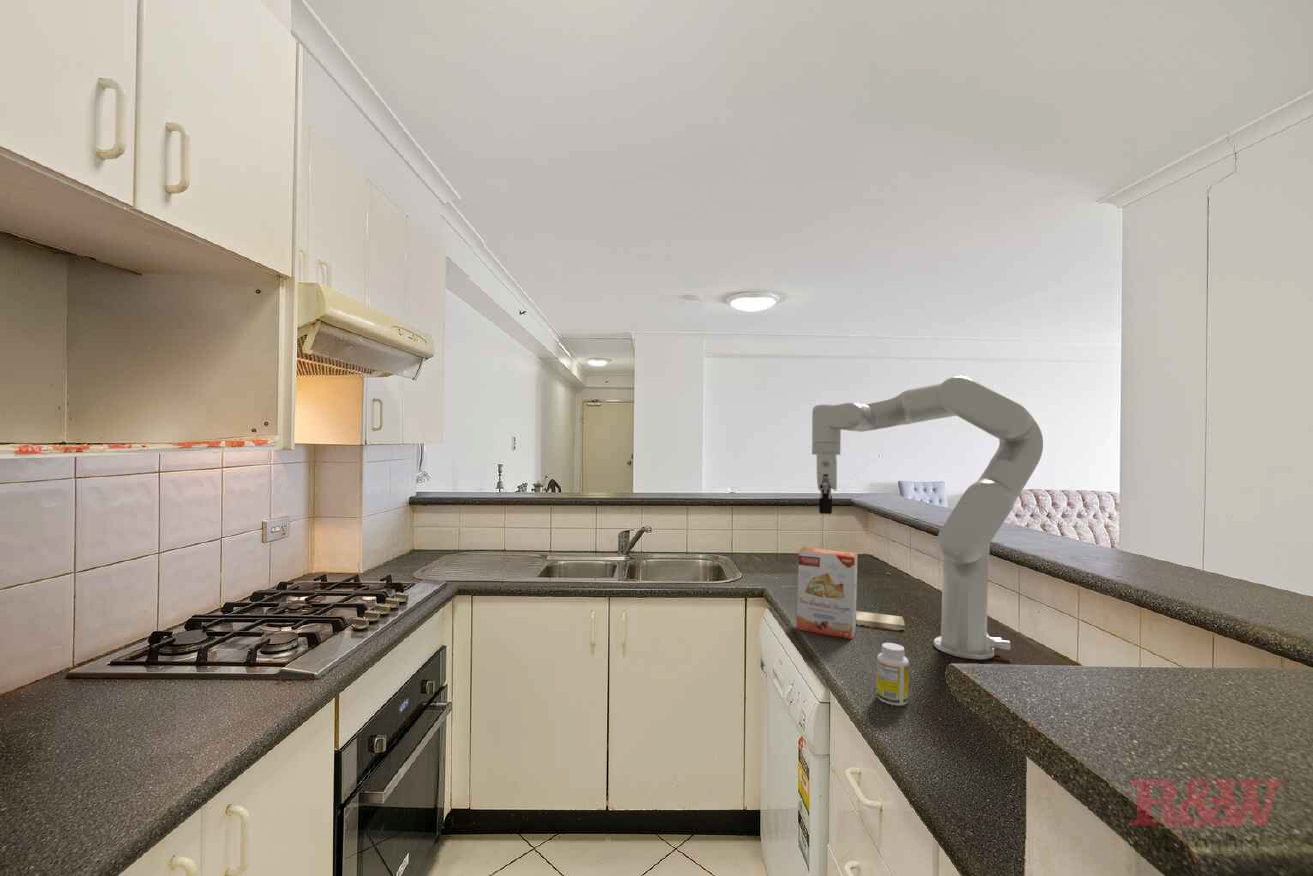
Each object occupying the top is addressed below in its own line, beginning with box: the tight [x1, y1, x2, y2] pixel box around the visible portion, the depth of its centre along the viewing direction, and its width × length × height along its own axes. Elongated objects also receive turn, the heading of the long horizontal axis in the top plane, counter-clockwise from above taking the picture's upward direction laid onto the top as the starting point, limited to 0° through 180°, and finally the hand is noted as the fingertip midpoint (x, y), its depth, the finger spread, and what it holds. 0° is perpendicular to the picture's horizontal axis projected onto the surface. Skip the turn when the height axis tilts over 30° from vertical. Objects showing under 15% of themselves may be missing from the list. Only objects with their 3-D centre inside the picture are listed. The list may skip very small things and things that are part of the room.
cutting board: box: [856, 610, 906, 632], centre depth 150 cm, size 12×8×2 cm, turn 71°
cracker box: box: [796, 546, 859, 640], centre depth 142 cm, size 14×6×21 cm, turn 62°
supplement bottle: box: [876, 642, 910, 707], centre depth 105 cm, size 6×6×10 cm
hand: (825, 511), depth 152 cm, fingers open, 9 cm apart
